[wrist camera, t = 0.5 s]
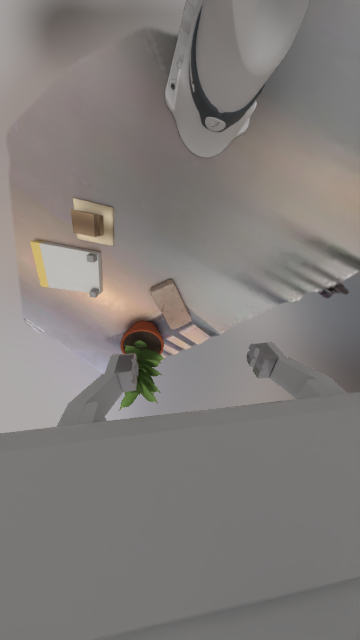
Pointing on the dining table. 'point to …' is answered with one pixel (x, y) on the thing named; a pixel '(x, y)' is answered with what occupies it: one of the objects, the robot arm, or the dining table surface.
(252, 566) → the robot arm
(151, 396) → the potted plant
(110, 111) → the dining table surface
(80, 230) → the wooden block on base
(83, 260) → the dock
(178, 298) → the brick
